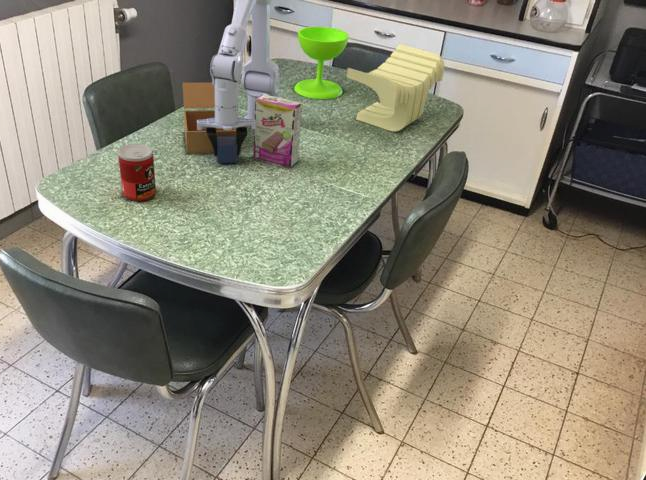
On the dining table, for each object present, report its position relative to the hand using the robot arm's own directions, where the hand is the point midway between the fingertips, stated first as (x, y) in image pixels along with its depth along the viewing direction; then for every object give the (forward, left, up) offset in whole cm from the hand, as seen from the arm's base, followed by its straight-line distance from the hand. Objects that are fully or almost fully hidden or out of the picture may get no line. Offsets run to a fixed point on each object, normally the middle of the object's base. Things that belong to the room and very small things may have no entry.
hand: (226, 154), depth 165 cm
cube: (0, 0, -1) cm, 1 cm away
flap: (+3, -20, +8) cm, 22 cm away
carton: (+3, -12, -2) cm, 12 cm away
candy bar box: (-13, 0, -2) cm, 13 cm away
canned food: (+22, +15, -2) cm, 27 cm away
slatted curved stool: (-52, -24, -2) cm, 57 cm away
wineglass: (-35, -49, -2) cm, 60 cm away
